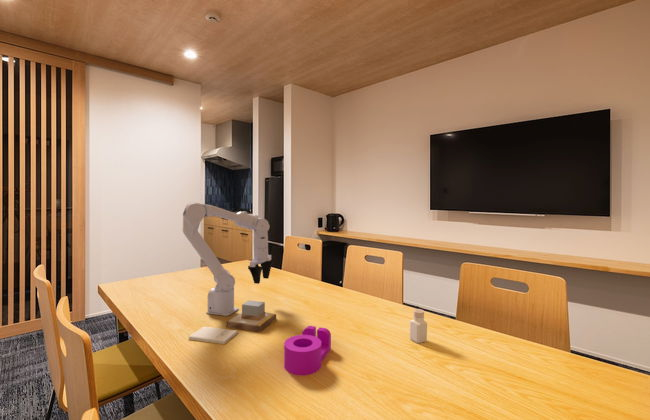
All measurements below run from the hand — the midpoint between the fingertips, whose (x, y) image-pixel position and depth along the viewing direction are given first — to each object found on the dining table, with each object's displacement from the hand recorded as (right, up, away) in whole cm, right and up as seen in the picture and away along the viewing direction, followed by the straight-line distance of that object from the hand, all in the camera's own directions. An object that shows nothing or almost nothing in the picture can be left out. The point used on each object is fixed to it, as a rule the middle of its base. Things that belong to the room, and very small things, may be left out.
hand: (261, 280), depth 130 cm
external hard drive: (-10, -12, -28) cm, 32 cm away
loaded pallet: (0, -9, -17) cm, 19 cm away
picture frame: (0, -11, -17) cm, 20 cm away
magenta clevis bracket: (+21, -13, -42) cm, 48 cm away
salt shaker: (+55, -13, -29) cm, 64 cm away
